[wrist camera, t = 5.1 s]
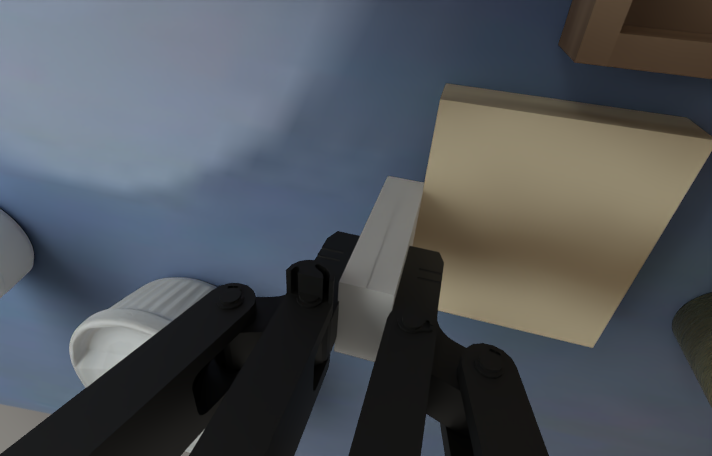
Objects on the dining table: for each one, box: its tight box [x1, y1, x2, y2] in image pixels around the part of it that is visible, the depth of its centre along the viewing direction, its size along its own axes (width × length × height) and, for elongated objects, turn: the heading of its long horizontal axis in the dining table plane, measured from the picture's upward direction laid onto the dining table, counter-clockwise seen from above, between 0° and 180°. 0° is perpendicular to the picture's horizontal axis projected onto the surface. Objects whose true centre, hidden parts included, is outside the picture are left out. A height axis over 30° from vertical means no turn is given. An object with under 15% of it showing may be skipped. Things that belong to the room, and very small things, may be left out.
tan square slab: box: [413, 83, 712, 348], centre depth 16 cm, size 9×8×2 cm
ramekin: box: [69, 277, 217, 453], centre depth 25 cm, size 11×11×5 cm
